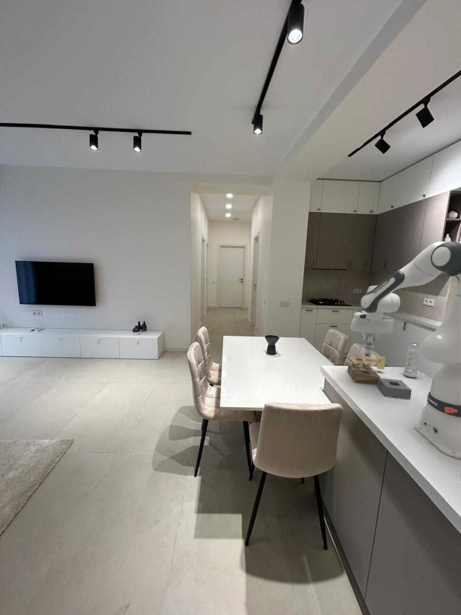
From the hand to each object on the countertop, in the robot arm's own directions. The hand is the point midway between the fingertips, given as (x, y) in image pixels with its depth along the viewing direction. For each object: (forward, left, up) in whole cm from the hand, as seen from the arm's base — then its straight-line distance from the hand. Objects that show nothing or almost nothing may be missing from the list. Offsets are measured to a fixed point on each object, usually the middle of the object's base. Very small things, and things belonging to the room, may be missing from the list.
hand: (369, 340), depth 140 cm
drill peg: (0, 0, -9) cm, 9 cm away
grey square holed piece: (-12, -10, -23) cm, 28 cm away
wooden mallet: (+11, -5, -20) cm, 24 cm away
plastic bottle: (+13, -29, -23) cm, 39 cm away
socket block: (+3, 0, -23) cm, 23 cm away
